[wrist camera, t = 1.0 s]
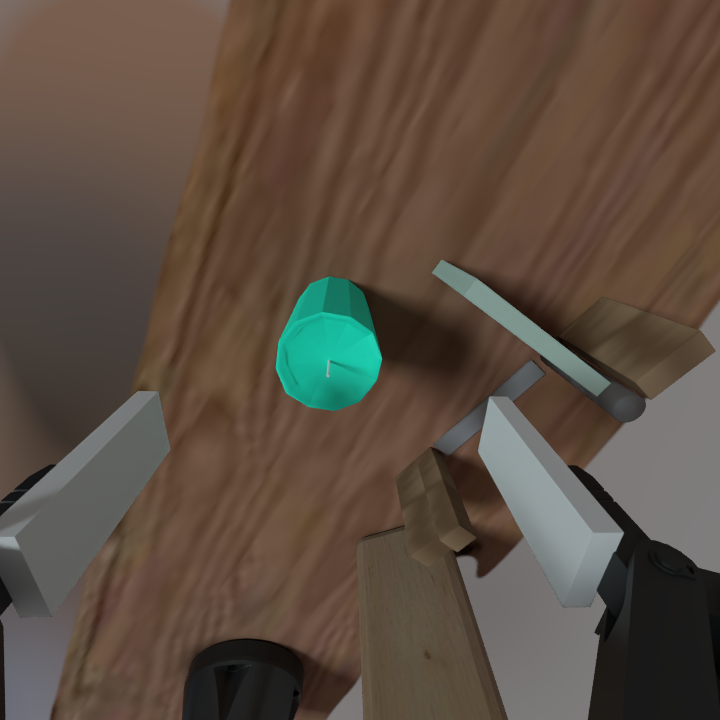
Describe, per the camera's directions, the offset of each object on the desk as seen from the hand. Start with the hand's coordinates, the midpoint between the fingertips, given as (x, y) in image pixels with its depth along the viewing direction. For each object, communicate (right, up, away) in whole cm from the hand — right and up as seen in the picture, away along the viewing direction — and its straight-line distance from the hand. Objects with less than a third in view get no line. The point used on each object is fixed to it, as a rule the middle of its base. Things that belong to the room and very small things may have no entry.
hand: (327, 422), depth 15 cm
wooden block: (+7, -20, +27) cm, 34 cm away
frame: (+14, -1, +19) cm, 24 cm away
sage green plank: (+12, +7, +15) cm, 21 cm away
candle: (-1, +6, +15) cm, 17 cm away
